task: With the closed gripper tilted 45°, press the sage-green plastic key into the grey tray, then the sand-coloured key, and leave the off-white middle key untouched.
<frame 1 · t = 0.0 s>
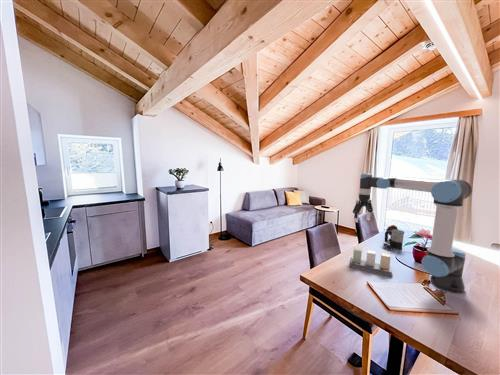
hand: (362, 221, 161), 28 cm above the table, tool pointing down, fingers open, 13 cm apart
grey tray: (369, 266, 148), on the table
key offwhite: (370, 258, 147), point 6 cm above the table, slide at 0.0 cm
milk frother: (392, 248, 180), on the table
key sage: (357, 255, 151), point 6 cm above the table, slide at 0.0 cm
key sand: (385, 261, 143), point 6 cm above the table, slide at 0.0 cm
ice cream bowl: (392, 240, 198), on the table
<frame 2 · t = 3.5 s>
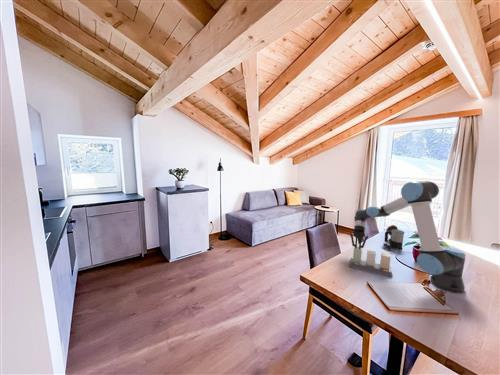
hand: (357, 255, 153), 5 cm above the table, tool tilted 45°, fingers closed
key sage: (357, 255, 150), point 6 cm above the table, slide at 0.7 cm, touching gripper
everything else where it was.
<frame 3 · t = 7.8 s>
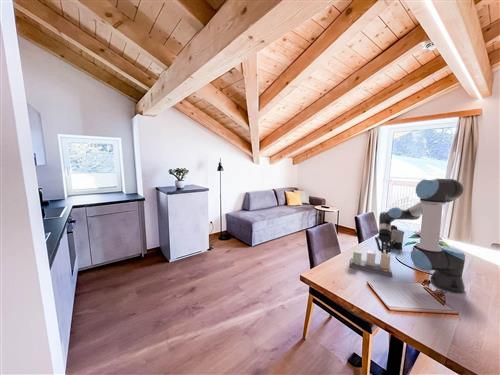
hand: (384, 260, 146), 5 cm above the table, tool tilted 45°, fingers closed
key sage: (357, 257, 147), point 6 cm above the table, slide at 4.1 cm
key sand: (385, 261, 143), point 6 cm above the table, slide at 0.1 cm, touching gripper
everything else where it was.
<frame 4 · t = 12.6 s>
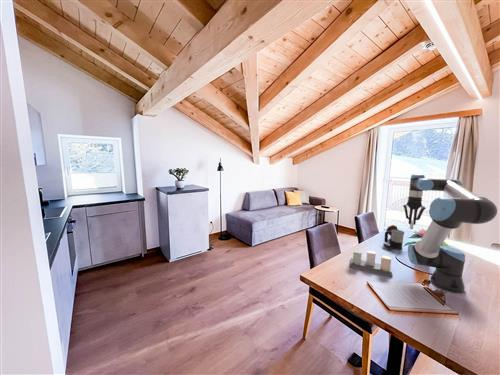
hand: (411, 228, 150), 26 cm above the table, tool pointing down, fingers closed
key sand: (385, 263, 139), point 6 cm above the table, slide at 4.1 cm
everything else where it was.
at the end: key sage slide at 4.1 cm; key sand slide at 4.1 cm; key offwhite slide at 0.0 cm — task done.
